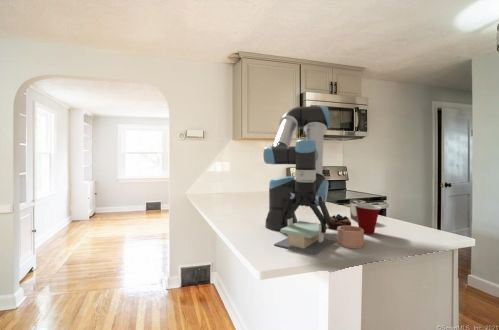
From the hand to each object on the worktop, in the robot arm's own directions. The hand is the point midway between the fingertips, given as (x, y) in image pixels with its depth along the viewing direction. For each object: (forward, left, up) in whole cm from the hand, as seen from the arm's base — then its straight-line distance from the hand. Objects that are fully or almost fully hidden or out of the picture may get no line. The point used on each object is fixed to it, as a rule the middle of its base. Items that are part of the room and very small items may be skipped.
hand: (305, 238), depth 104 cm
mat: (0, 0, -2) cm, 2 cm away
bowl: (+14, +9, -2) cm, 17 cm away
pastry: (+2, +32, -2) cm, 33 cm away
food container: (+6, +52, -2) cm, 52 cm away
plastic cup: (+15, +30, -2) cm, 34 cm away
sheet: (0, 0, +3) cm, 3 cm away
